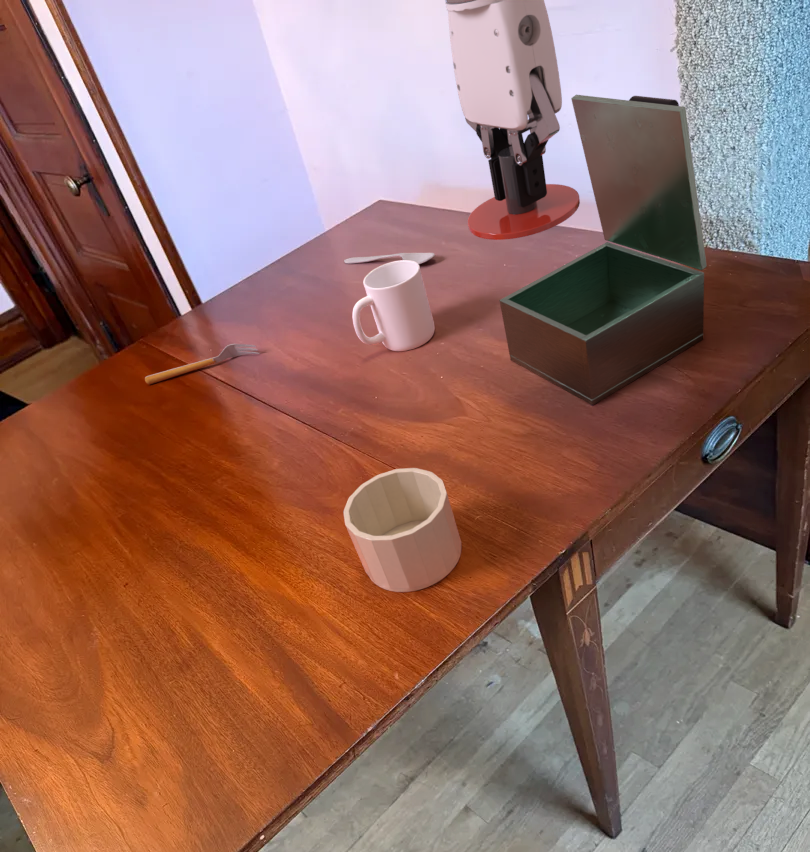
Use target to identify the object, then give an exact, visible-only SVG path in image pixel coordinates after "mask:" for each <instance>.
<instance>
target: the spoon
mask: <svg viewBox="0 0 810 852" xmlns="http://www.w3.org/2000/svg"><path fill="white" fill-rule="evenodd" d="M395 257H400V258H401V259H402V260H411V261H415V262H417V263H418V264H419V265H421V264H424V263H426V262H428V261H429V260H431V259H432V258H433V257H435V252H398V253H393V254H392V253H391V254H382V255H371V256H354V257H348V258H346V259H344V260H343V263H345V264H347V265H348V264H349V265H350V264H360V263H368V262H372V261H373V262H374V261H377V260H381V259H388V258H395Z"/></svg>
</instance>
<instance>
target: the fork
mask: <svg viewBox="0 0 810 852" xmlns="http://www.w3.org/2000/svg"><path fill="white" fill-rule="evenodd" d="M256 347H257V345H255V344H246V343H230V344H227V345H226V346H225V347H224V348H223V349H222V351H221V352H220V353H219V355H217V356H213V357H209V358H206V359H202V360H199V361H196V362H192V363H188V364H186V365H181V366H178V367H173V368H171V369H167V370H163V371H160V372H156V373H153V374H149V375H147V376H145V377H144V381H145V383H146V384H147V385H154V384H156V383H159V382H162V381H166V380H169V379H171V378H174V377H178V376H181V375H183V374H186V373H189V372H193V371H197V370H198V369H202V368H206V367H208V366H210V365H214V364H217V363H220V362H223V361H225V360H227V359H230V358H231V359H232V358H235V357H239V356H244V355H245V356H246V355H261V352H258V351H259V349H258V348H256Z"/></svg>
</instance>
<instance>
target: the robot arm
mask: <svg viewBox="0 0 810 852" xmlns="http://www.w3.org/2000/svg"><path fill="white" fill-rule="evenodd" d="M444 2H445V8H446V11H447V16H448V17H447V18H448V31H449V40H450V51H451V57H452V65H453V72H454V77H455V84H456V89H457V94H458V99H459V104H460V107H461V111H462V114H463V116H464V119H465V122H466V123H467V125H468V126H470V128H472V130H473V131H474V132H475V133H476V136H477V137H478V138H479V140H480V142H481V145H482V153H483V156H484V158H485V159H487V161H488V166H489V172H490V179H491V185H492V190H493V197H495V199H496V200H498V201H502V200H504V199H505V194H504V188H503V182H502V176H501V170H500V164H499V158H498V153H499V152H500V151H501V150H503V149H505V148H507V147H510V146H512V148H513V152H514V157H515V161H516V164H514V165H512V171H513V177H514V184H515V190H516V197H517V203H518V206H519V207H523V208H524V207H526V206H528V205H530V204H532V203H534V202H536V201H538V200H540V199H542V198H544V197H545V196H546V194H547V188H546V184H547V182H546V173H545V165H544V159H543V155H545V153H546V150H547V148H546V146H547V144H548V142H549V140H550V139H552V138H553V137H554V136H555V135H557V134H558V133H559V131H560V128H561V127H560V122H559V121H558V118H557V116H556V114H557V113H559V112H560V111H561V109H562V106H563V96H562V87H561V79H560V72H559V71H560V70H559V66H558V60H557V59H558V58H557V53H556V47H555V42H554V37H553V32H552V27H551V22H550V19H549V18H550V17H549V14H548V10H547V7H546V3H545V0H444ZM528 131H529V134H528V135H527V136H526V138H525V140H524V136H523V134H524V133H526V132H528Z"/></svg>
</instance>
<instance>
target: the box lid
mask: <svg viewBox="0 0 810 852" xmlns="http://www.w3.org/2000/svg"><path fill="white" fill-rule="evenodd" d="M570 100H571V104H572V109H573V112H574V116H575V121H576V125H577V129H578V133H579V137H580V141H581V145H582V150H583V154H584V157H585V163H586V166H587V167H586V168H587V171H588V176H589V179H590V183H591V188H592V191H593V192H592V193H593V196H594V201H595V205H596V209H597V213H598V218H599V222H600V225H601V230H602V234H603V235H602V236H603V238H604V241H606V242H609V243H612V244H615V245H618V246H621V247H625V248H628V249H631V250H634V251H637V252H640V253H644V254H647V255H650V256H653V257H656V258H660V259H663V260H666V261H669V262H672V263H675V264H679V265H682V266H685V267H688V268H691V269H695V270H698V271H703V270H704V269H706V268H707V258H706V251H705V244H704V235H703V227H702V220H701V214H700V206H699V205H700V204H699V198H698V190H697V183H696V176H695V168H694V162H693V155H692V147H691V146H692V145H691V140H690V131H689V123H688V116H687V109H686V106H682V105H681V106H680V104H679V102H678V100H676V99H672V98H671V99H670V98H663V97H662V98H661V97H652V96H643V95H633V96H631V97H630V98H629V99H627V100H626V99H619V98H610V97H601V96H592V95H584V94H575V95H574V96H572V97H571V99H570Z"/></svg>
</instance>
